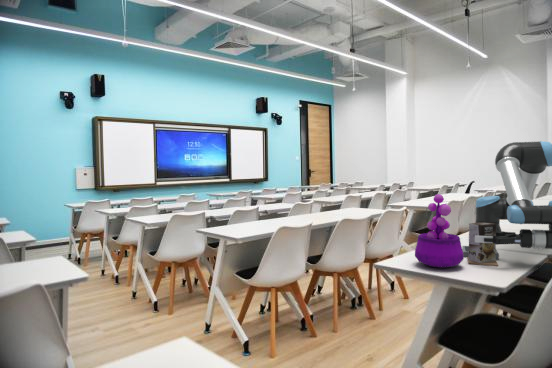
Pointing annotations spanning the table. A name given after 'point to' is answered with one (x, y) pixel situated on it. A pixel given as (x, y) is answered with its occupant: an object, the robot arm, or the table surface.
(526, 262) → the table surface
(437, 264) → the decorative plant
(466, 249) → the grey square tray
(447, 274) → the table surface
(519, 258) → the table surface
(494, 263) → the walnut pad
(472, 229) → the coffee box
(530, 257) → the table surface
